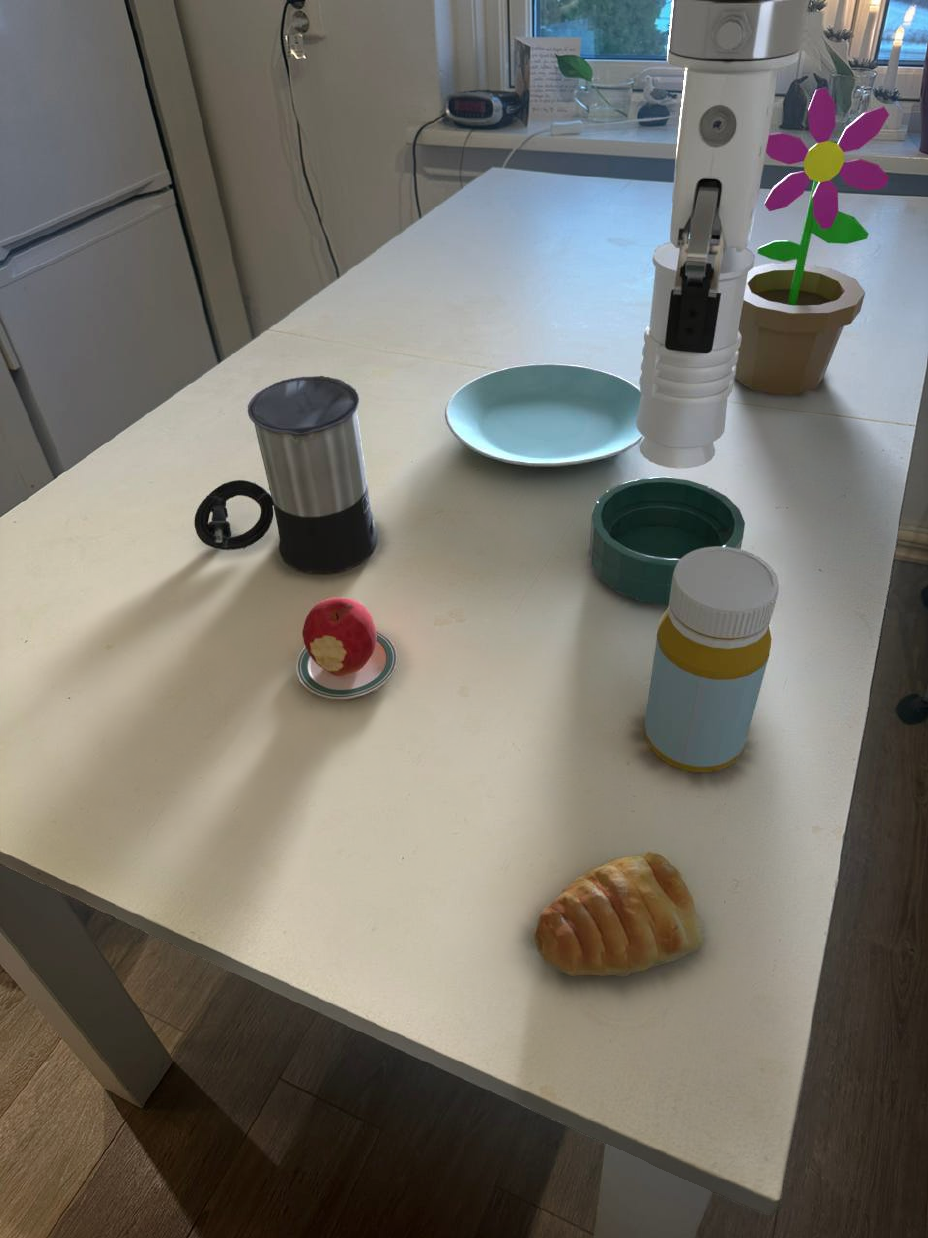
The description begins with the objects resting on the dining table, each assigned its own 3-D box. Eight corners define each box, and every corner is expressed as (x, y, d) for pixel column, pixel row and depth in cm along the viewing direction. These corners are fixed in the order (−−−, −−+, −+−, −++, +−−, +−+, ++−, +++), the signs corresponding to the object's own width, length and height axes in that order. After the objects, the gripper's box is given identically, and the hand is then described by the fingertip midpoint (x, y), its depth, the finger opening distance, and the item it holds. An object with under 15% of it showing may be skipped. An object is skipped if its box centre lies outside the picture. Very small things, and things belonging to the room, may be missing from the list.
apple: (412, 683, 68) (405, 621, 63) (312, 716, 66) (298, 654, 61) (379, 620, 73) (370, 559, 69) (286, 649, 71) (271, 588, 67)
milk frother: (392, 561, 79) (374, 413, 69) (218, 608, 75) (173, 460, 65) (348, 482, 89) (326, 343, 79) (193, 521, 85) (150, 380, 75)
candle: (616, 437, 71) (632, 248, 61) (690, 419, 72) (718, 231, 62) (660, 480, 66) (685, 282, 56) (739, 459, 68) (777, 263, 58)
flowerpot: (707, 395, 99) (755, 93, 79) (720, 341, 109) (766, 61, 89) (840, 410, 96) (927, 98, 75) (842, 353, 106) (919, 63, 85)
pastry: (564, 1014, 48) (566, 982, 46) (515, 911, 53) (515, 877, 51) (710, 952, 51) (720, 918, 48) (650, 859, 55) (657, 824, 53)
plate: (483, 373, 106) (482, 351, 104) (667, 396, 99) (670, 373, 98) (415, 469, 90) (413, 445, 88) (628, 503, 84) (631, 478, 82)
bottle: (738, 788, 59) (783, 625, 49) (635, 765, 61) (658, 603, 51) (747, 714, 64) (790, 552, 54) (651, 694, 66) (675, 534, 56)
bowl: (739, 533, 80) (749, 487, 77) (727, 623, 71) (738, 575, 68) (603, 514, 83) (607, 469, 80) (575, 597, 74) (578, 551, 71)
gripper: (798, 60, 44) (738, 390, 56) (807, 6, 56) (755, 286, 68) (647, 59, 45) (620, 378, 58) (687, 6, 58) (658, 279, 70)
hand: (694, 326), depth 63 cm, fingers closed on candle, 6 cm apart
